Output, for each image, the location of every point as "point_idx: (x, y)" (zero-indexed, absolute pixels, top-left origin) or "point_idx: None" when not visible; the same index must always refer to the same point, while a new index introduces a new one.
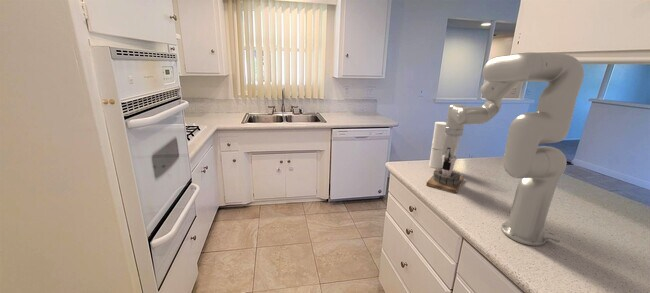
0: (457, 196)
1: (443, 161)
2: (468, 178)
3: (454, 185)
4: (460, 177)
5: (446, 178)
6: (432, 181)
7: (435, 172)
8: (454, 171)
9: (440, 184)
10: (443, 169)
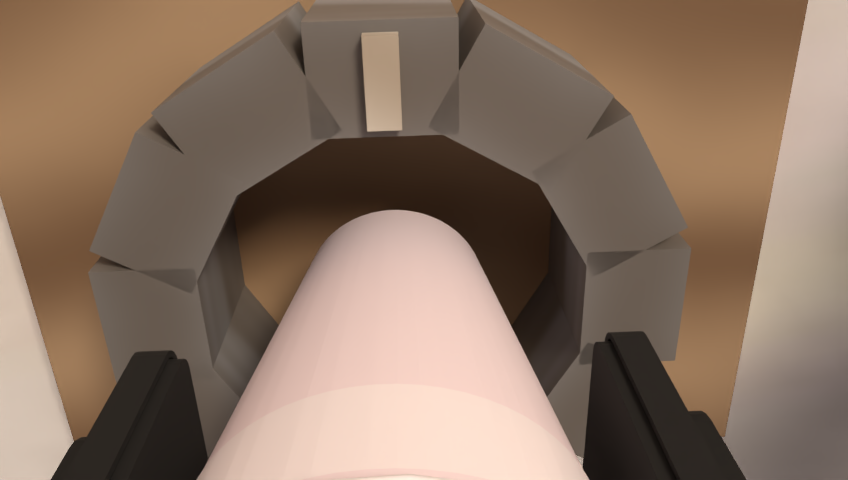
0: (22, 468)
1: (212, 469)
2: (828, 436)
3: None
4: (692, 397)
5: (122, 370)
6: (100, 56)
7: (235, 90)
8: None
9: (94, 227)
10: (287, 315)
